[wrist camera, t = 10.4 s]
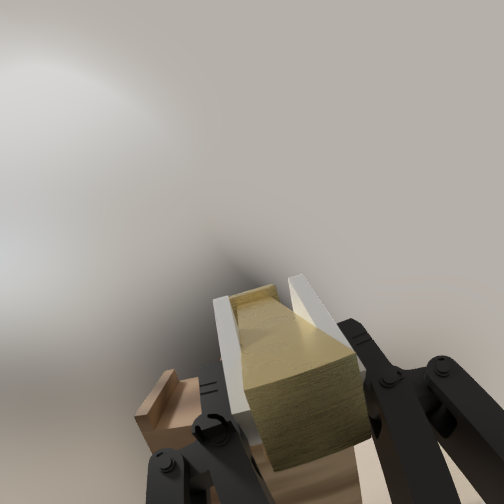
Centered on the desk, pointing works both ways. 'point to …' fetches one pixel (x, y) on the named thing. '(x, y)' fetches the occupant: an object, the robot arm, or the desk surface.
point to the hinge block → (280, 483)
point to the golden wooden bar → (297, 382)
